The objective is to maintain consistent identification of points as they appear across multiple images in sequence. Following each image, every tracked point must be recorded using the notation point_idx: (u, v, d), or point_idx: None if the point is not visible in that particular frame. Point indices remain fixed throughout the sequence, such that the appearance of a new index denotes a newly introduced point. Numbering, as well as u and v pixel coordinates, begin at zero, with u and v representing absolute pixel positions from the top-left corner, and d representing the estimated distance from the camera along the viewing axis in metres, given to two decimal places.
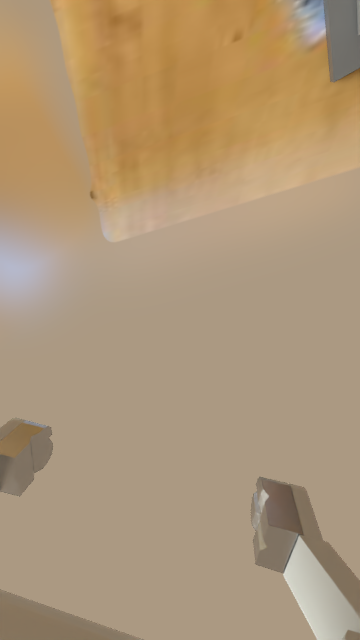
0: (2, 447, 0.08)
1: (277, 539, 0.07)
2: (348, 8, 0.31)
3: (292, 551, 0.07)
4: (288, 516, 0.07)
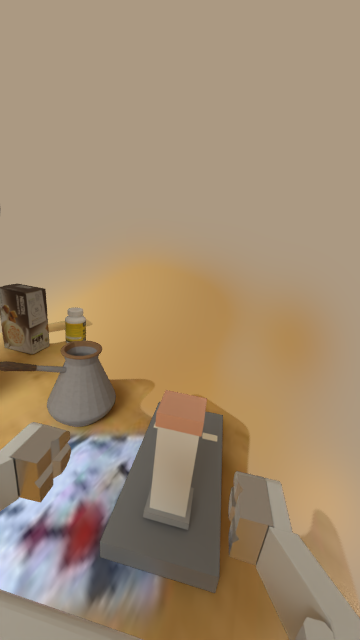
0: (23, 452, 0.08)
1: (248, 531, 0.07)
2: (158, 532, 0.26)
3: (263, 544, 0.07)
4: (260, 509, 0.07)
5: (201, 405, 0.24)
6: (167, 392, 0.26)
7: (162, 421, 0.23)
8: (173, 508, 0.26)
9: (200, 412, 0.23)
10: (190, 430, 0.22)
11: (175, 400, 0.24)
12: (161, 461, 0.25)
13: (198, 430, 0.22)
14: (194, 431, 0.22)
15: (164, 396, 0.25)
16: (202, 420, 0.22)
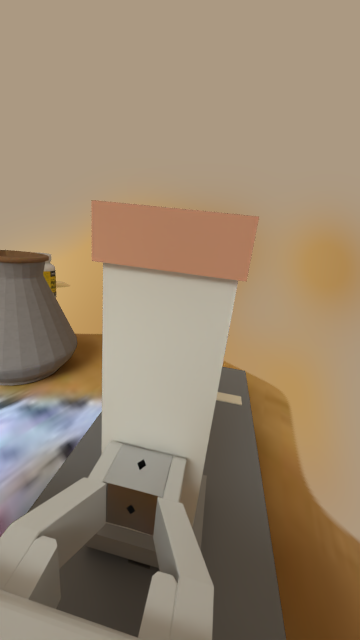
0: (114, 476, 0.08)
1: (142, 502, 0.07)
2: (113, 604, 0.09)
3: (156, 514, 0.07)
4: (155, 482, 0.08)
5: None
6: None
7: (113, 237, 0.07)
8: None
9: None
10: (208, 260, 0.06)
11: None
12: (122, 391, 0.09)
13: (237, 256, 0.06)
14: (222, 262, 0.06)
15: None
16: None
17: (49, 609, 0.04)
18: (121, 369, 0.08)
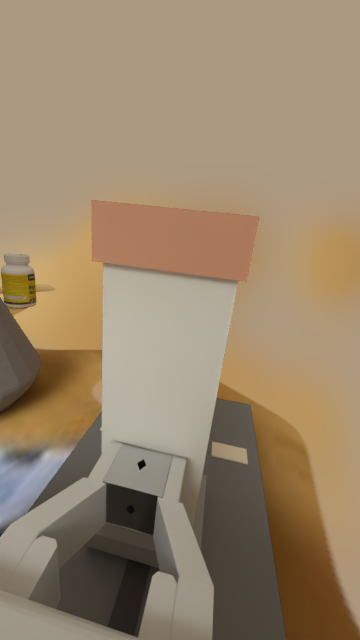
0: (114, 476, 0.08)
1: (142, 502, 0.07)
2: None
3: (156, 514, 0.07)
4: (155, 482, 0.08)
5: None
6: None
7: (113, 237, 0.07)
8: None
9: None
10: (208, 260, 0.06)
11: None
12: (121, 392, 0.09)
13: (237, 256, 0.06)
14: (222, 262, 0.06)
15: None
16: None
17: (49, 609, 0.04)
18: (121, 369, 0.08)
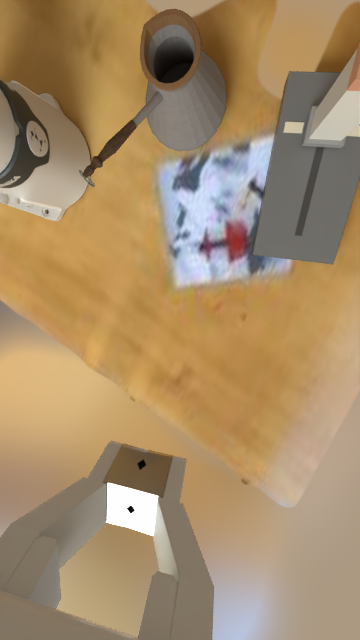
0: (115, 476, 0.08)
1: (142, 502, 0.07)
2: (292, 244, 0.37)
3: (156, 514, 0.07)
4: (155, 482, 0.08)
5: None
6: None
7: (358, 85, 0.21)
8: (332, 137, 0.31)
9: None
10: None
11: None
12: (337, 112, 0.26)
13: None
14: None
15: None
16: None
17: (49, 609, 0.04)
18: (340, 107, 0.25)
